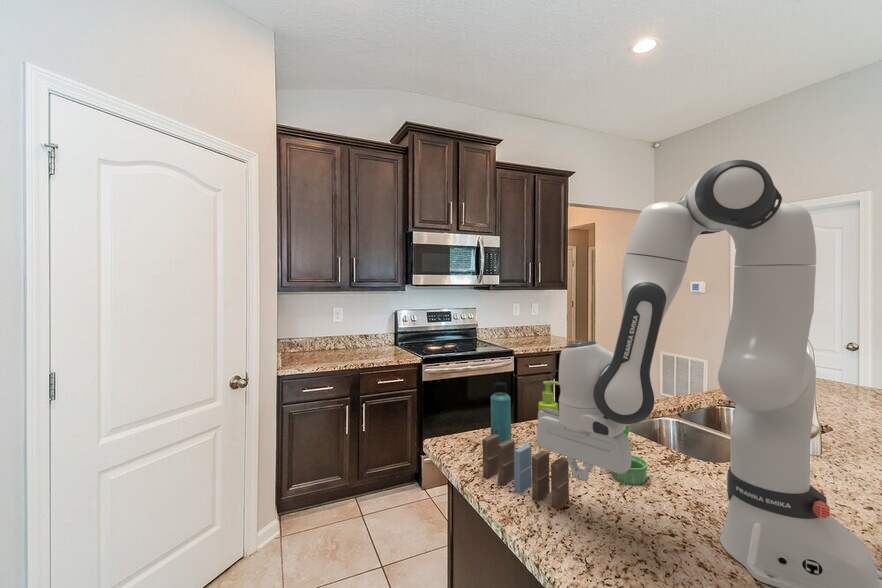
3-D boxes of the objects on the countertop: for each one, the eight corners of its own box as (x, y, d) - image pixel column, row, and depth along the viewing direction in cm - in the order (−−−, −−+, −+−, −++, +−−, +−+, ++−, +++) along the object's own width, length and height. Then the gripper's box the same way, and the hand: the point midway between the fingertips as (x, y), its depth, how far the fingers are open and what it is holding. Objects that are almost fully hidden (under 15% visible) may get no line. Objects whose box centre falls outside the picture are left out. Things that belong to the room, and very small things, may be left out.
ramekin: (604, 478, 99) (604, 461, 99) (616, 466, 106) (616, 450, 106) (641, 490, 93) (641, 472, 93) (652, 476, 99) (652, 459, 99)
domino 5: (568, 501, 88) (568, 458, 88) (557, 510, 85) (557, 466, 85) (562, 499, 89) (562, 456, 89) (551, 507, 86) (550, 463, 86)
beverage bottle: (515, 445, 120) (514, 381, 120) (506, 453, 115) (506, 386, 114) (496, 441, 124) (495, 379, 123) (487, 448, 118) (486, 384, 118)
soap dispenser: (562, 449, 117) (562, 384, 116) (539, 447, 118) (538, 383, 118) (560, 441, 122) (560, 379, 122) (538, 440, 124) (537, 378, 123)
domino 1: (499, 472, 103) (499, 435, 103) (487, 479, 99) (487, 440, 99) (494, 470, 104) (494, 433, 104) (482, 476, 100) (482, 439, 100)
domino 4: (549, 493, 92) (549, 452, 92) (538, 501, 88) (537, 458, 88) (543, 491, 93) (543, 450, 93) (532, 499, 90) (531, 456, 89)
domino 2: (515, 478, 99) (514, 440, 99) (503, 486, 96) (502, 446, 95) (509, 476, 100) (509, 438, 100) (498, 483, 97) (497, 444, 97)
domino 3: (531, 485, 95) (531, 446, 95) (520, 493, 92) (519, 452, 92) (526, 483, 97) (525, 444, 96) (514, 491, 93) (514, 450, 93)
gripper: (530, 408, 88) (531, 467, 89) (622, 432, 74) (622, 503, 74) (545, 402, 93) (545, 458, 93) (634, 423, 78) (634, 490, 78)
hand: (580, 478), depth 83 cm, fingers closed
